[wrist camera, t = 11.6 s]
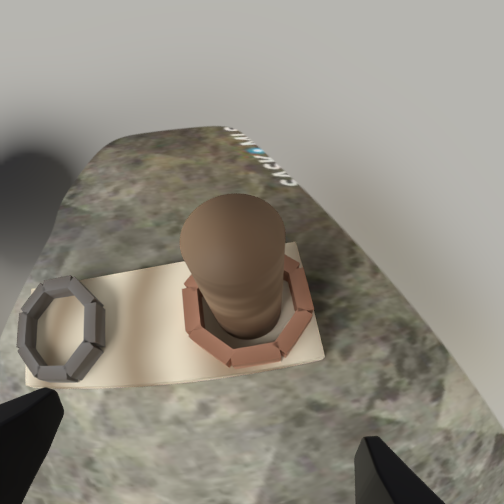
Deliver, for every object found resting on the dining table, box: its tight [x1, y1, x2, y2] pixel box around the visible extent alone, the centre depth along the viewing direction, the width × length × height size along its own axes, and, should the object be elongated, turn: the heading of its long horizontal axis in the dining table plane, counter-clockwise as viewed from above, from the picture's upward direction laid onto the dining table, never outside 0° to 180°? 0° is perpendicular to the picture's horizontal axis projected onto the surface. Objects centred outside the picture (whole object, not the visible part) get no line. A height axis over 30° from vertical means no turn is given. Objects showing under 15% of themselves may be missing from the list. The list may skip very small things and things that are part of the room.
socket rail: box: [17, 242, 325, 389], centre depth 21 cm, size 23×9×3 cm, turn 99°
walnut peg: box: [180, 194, 286, 340], centre depth 17 cm, size 4×4×9 cm
